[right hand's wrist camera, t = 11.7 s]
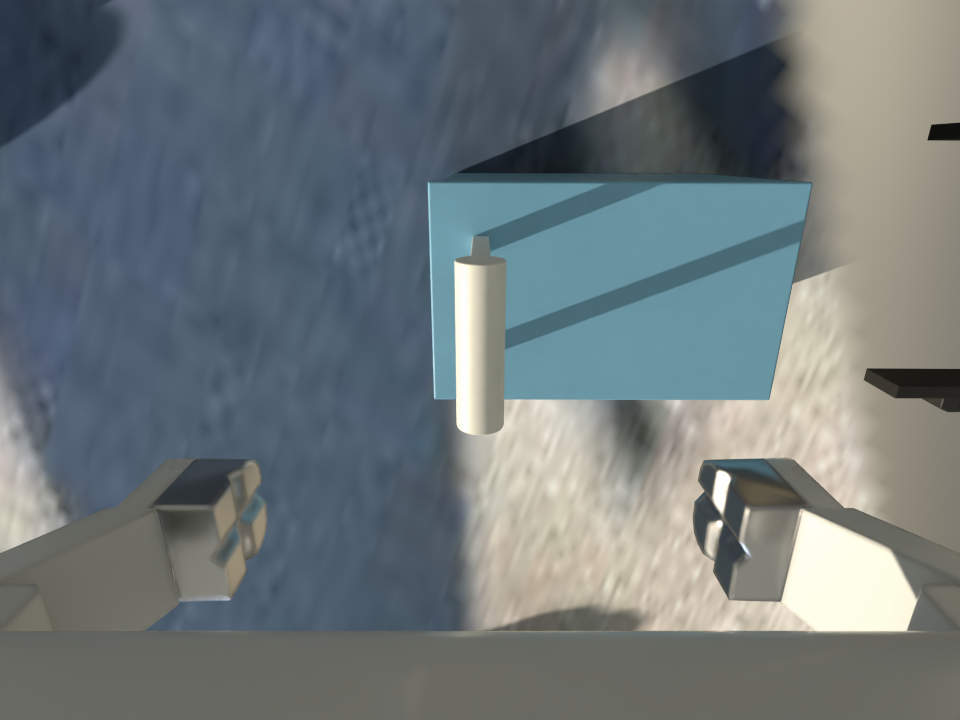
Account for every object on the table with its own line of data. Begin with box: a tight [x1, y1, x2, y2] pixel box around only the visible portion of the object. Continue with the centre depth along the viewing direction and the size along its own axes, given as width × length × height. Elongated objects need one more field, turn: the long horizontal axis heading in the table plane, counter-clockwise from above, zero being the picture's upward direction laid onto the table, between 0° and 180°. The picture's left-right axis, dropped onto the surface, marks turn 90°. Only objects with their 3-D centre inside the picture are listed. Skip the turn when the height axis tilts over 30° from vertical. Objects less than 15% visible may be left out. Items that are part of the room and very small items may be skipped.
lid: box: [428, 180, 812, 435], centre depth 21 cm, size 16×10×9 cm, turn 90°
